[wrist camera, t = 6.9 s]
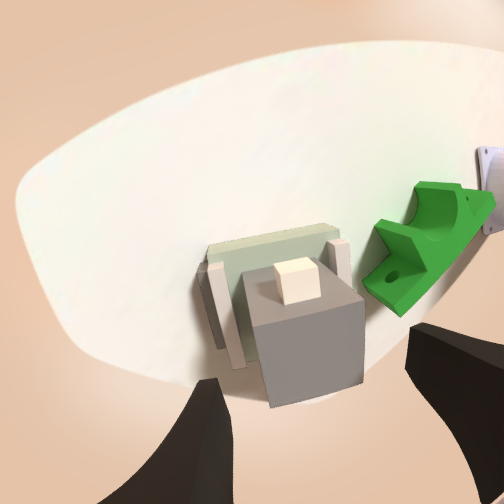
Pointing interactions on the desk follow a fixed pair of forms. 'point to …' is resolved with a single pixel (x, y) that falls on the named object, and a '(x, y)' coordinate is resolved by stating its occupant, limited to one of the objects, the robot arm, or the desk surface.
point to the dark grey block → (305, 330)
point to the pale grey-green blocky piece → (255, 257)
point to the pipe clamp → (427, 242)
